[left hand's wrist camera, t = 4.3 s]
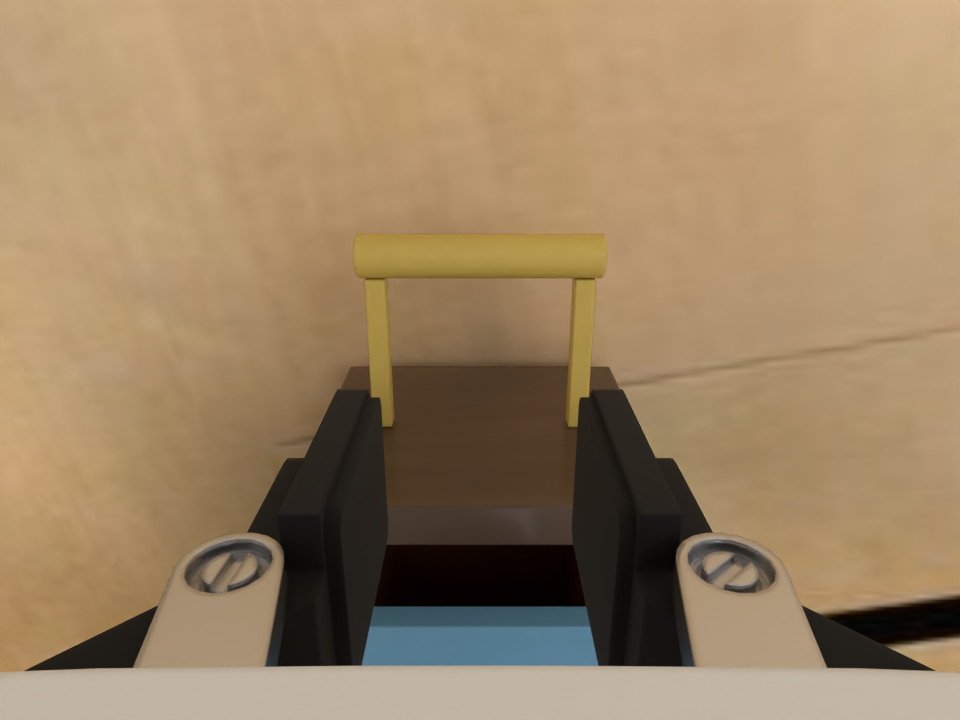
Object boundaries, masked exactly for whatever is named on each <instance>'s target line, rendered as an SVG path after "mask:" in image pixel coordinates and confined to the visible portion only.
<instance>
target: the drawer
mask: <svg viewBox="0 0 960 720" xmlns="http://www.w3.org/2000/svg"><path fill="white" fill-rule="evenodd" d="M353 262H354V270H355V274H356V276H357V277H358V278H366V279H365V281H364V288H365V304H366V320H367V335H368V351H369V366H370V367H351V368H350V370H349V372H348V374H347V377H346V379H345V381H344V383H343V385H342V387H341V389H367V390H369V392H370V397H380V400H381V409H382V426H383V443H384V460H385V477H386V494H387V511H388V539H387V545H386V550H385V555H384V560H383V565H382V570H381V575H380V579H379V584H378V589H377V594H376V599H375V604H374V606H575V607H586V604H585V599H584V594H583V589H582V584H581V579H580V575H579V570H578V565H577V560H576V555H575V550H574V545H573V539H572V511H573V494H574V477H575V460H576V443H577V426H578V409H579V400H580V397H590V393H591V390H593V389H619V387H618V385H617V383H616V381H615V379H614V376H613V374H612V372H611V370H610V368H609V367H591V352H592V336H593V321H594V305H595V289H596V281H595V279H594V278H602V277H603V276H604V274H605V270H606V263H607V244H606V238H605V236H604V235H603V234H357V235H356V236H355V239H354V244H353ZM387 278H573V285H572V304H571V324H570V343H569V363H568V367H392V362H391V343H390V323H389V304H388V284H387Z"/></svg>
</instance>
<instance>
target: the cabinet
mask: <svg viewBox="0 0 960 720" xmlns="http://www.w3.org/2000/svg"><path fill="white" fill-rule="evenodd" d="M362 666H598V662H597V657H596V652H595V647H594V642H593V638H592V633H591V628H590V623H589V618H588V613H587V608H586V607H575V606H374V609H373V613H372V618H371V623H370V628H369V633H368V638H367V642H366V647H365V652H364V657H363V662H362Z"/></svg>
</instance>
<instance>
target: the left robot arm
mask: <svg viewBox="0 0 960 720" xmlns="http://www.w3.org/2000/svg"><path fill="white" fill-rule="evenodd" d="M387 539H388V511H387V494H386V477H385V460H384V443H383V426H382V409H381V400H380V397H370V392H369V390H367V389H338V390H337V391H336V393H335V395H334V397H333V399H332V402H331V404H330V406H329V408H328V410H327V412H326V414H325V416H324V418H323V420H322V422H321V424H320V427H319V429H318V431H317V433H316V435H315V437H314V439H313V441H312V443H311V445H310V447H309V449H308V452H307V454H306V456H305V458H289V459H287V460H286V461H285V462H284V464H283V466H282V468H281V470H280V471H279V473H278V475H277V477H276V479H275V481H274V483H273V485H272V487H271V488H270V490H269V492H268V494H267V496H266V498H265V500H264V502H263V504H262V506H261V507H260V509H259V511H258V513H257V515H256V517H255V519H254V521H253V523H252V524H251V526H250V528H249V530H248V532H247V533H234V534H229V535H223V536H220V537H217V538H214V539H211V540H208V541H205V542H204V543H202V544H200V545H198V546H196V547H195V548H193V549H191V550H190V551H189V552H188V553H187V554H185V555H184V556H183V557H182V558H181V559H180V560H179V562H178V563H177V565H176V566H175V568H174V569H173V571H172V574H171V576H170V579H169V581H168V584H167V586H166V588H165V591H164V593H163V596H162V598H161V601H160V603H159V605H158V606H156V607H154V608H152V609H150V610H148V611H146V612H144V613H142V614H140V615H138V616H136V617H134V618H132V619H130V620H127V621H125V622H123V623H121V624H119V625H117V626H115V627H113V628H111V629H109V630H107V631H105V632H103V633H101V634H99V635H97V636H95V637H93V638H91V639H89V640H87V641H84V642H82V643H80V644H78V645H76V646H74V647H72V648H70V649H68V650H66V651H64V652H62V653H60V654H58V655H56V656H54V657H52V658H50V659H48V660H46V661H43V662H41V663H39V664H37V665H35V666H33V667H31V668H29V669H27V670H25V671H14V672H0V720H960V672H946V671H935V670H933V669H931V668H929V667H927V666H925V665H923V664H921V663H919V662H917V661H915V660H912V659H910V658H908V657H906V656H904V655H902V654H900V653H898V652H896V651H894V650H892V649H890V648H888V647H886V646H884V645H882V644H880V643H878V642H876V641H874V640H871V639H869V638H867V637H865V636H863V635H861V634H859V633H857V632H855V631H853V630H851V629H849V628H847V627H845V626H843V625H841V624H839V623H837V622H835V621H833V620H830V619H828V618H826V617H824V616H822V615H820V614H818V613H816V612H814V611H812V610H810V609H808V608H806V607H804V606H802V605H801V603H800V601H799V598H798V596H797V593H796V591H795V588H794V586H793V584H792V581H791V579H790V576H789V574H788V571H787V569H786V568H785V566H784V565H783V563H782V562H781V560H780V559H779V558H778V557H777V556H776V555H775V554H773V553H772V552H771V551H770V550H769V549H767V548H765V547H764V546H762V545H760V544H758V543H756V542H755V541H752V540H749V539H746V538H743V537H740V536H737V535H731V534H726V533H713V532H712V530H711V528H710V526H709V524H708V523H707V521H706V519H705V517H704V515H703V513H702V511H701V509H700V507H699V506H698V504H697V502H696V500H695V498H694V496H693V494H692V492H691V490H690V488H689V487H688V485H687V483H686V481H685V479H684V477H683V475H682V473H681V471H680V470H679V468H678V466H677V464H676V462H675V461H674V460H673V459H671V458H655V456H654V454H653V452H652V449H651V447H650V445H649V443H648V441H647V439H646V437H645V435H644V433H643V431H642V429H641V427H640V424H639V422H638V420H637V418H636V416H635V414H634V412H633V410H632V408H631V406H630V404H629V402H628V399H627V397H626V395H625V393H624V391H623V390H622V389H593V390H591V393H590V397H580V400H579V409H578V426H577V443H576V460H575V477H574V494H573V511H572V539H573V545H574V550H575V555H576V560H577V565H578V570H579V575H580V579H581V584H582V589H583V594H584V599H585V604H586V608H587V613H588V618H589V623H590V628H591V633H592V638H593V642H594V647H595V652H596V657H597V662H598V666H362V662H363V657H364V652H365V647H366V642H367V638H368V633H369V628H370V623H371V618H372V613H373V609H374V604H375V599H376V594H377V589H378V584H379V579H380V575H381V570H382V565H383V560H384V555H385V550H386V545H387Z"/></svg>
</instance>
